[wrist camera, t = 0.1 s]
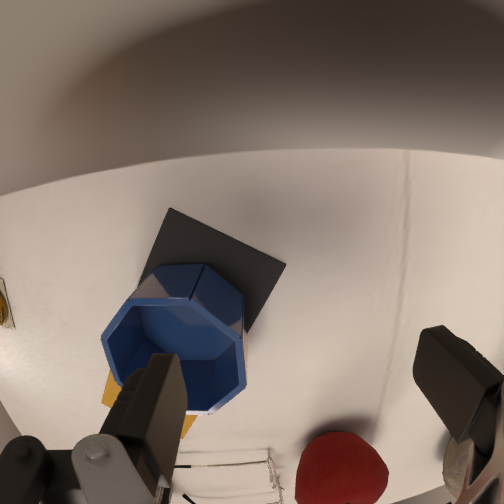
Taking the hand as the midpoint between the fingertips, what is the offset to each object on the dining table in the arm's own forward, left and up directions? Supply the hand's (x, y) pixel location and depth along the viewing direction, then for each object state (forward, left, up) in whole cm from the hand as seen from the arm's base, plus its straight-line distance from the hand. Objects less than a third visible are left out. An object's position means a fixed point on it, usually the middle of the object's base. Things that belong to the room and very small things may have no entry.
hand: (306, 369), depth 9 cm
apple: (+29, +8, -20) cm, 36 cm away
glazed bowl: (+7, -8, -19) cm, 22 cm away
